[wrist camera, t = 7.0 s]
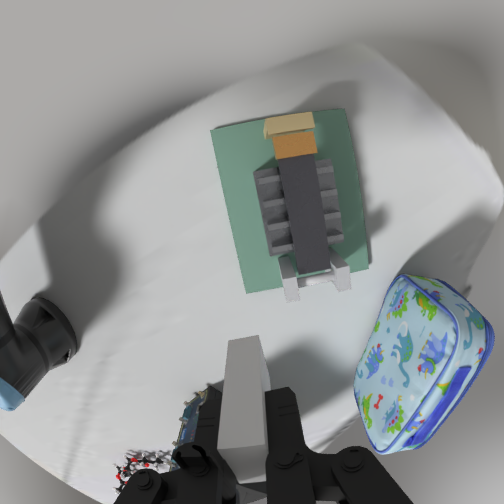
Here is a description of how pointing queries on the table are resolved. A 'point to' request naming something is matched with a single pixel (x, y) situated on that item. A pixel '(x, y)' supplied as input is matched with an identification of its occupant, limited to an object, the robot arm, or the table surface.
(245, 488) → the router
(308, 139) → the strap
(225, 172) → the board
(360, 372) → the lunch box
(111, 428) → the table surface
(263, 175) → the heatsink
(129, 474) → the molecular model
